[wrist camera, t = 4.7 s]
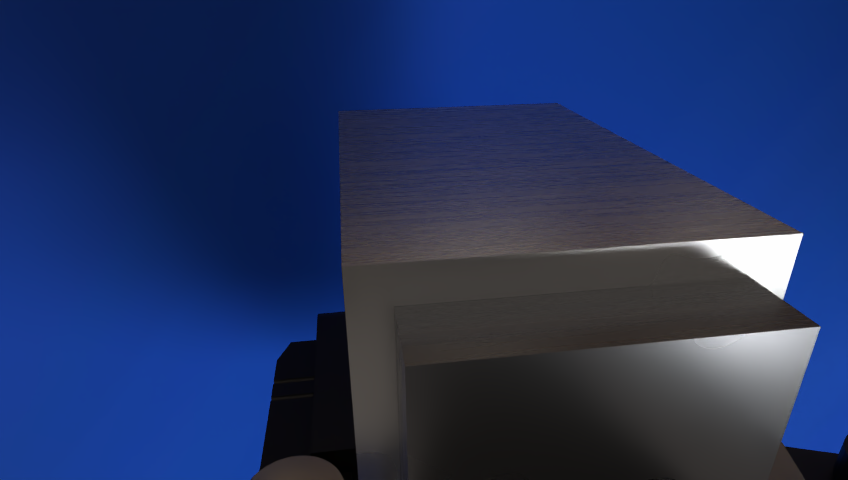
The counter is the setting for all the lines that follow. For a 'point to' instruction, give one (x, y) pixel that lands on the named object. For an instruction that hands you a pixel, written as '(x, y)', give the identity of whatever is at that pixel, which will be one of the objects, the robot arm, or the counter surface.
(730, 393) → the block
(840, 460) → the robot arm
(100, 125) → the counter surface
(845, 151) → the counter surface
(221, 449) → the counter surface
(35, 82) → the counter surface
